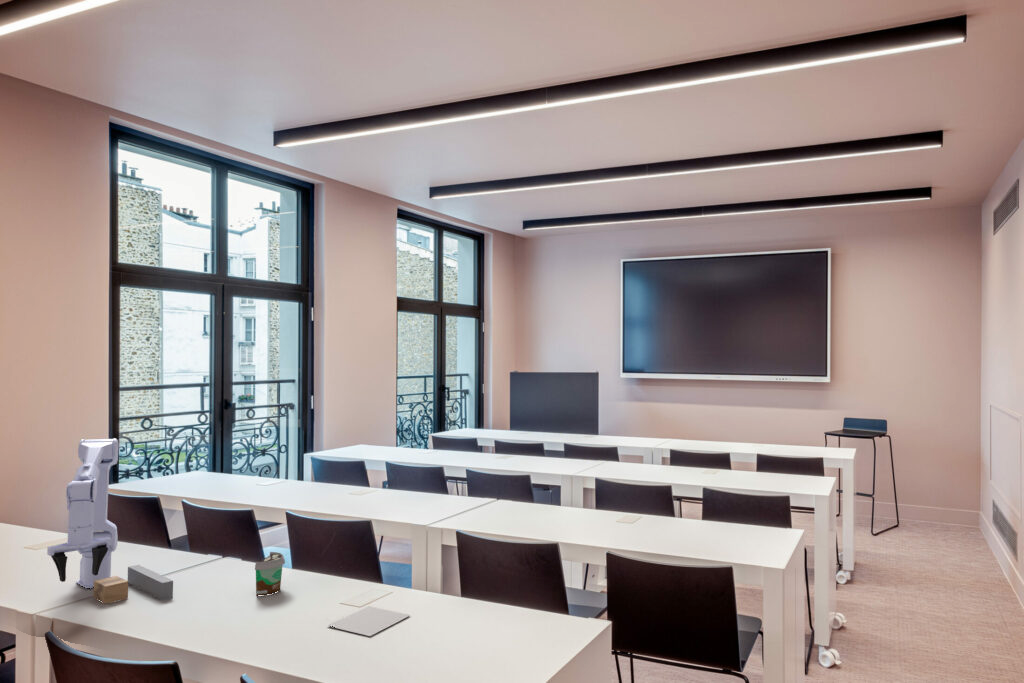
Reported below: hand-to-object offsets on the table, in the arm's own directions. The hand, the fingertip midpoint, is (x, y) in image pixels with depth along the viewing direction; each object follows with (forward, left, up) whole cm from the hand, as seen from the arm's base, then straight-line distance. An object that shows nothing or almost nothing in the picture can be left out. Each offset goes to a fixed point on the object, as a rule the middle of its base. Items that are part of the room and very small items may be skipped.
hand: (79, 577), depth 185 cm
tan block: (-8, +11, -10) cm, 16 cm away
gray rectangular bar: (-8, +21, -10) cm, 24 cm away
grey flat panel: (+55, +52, -10) cm, 76 cm away
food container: (+20, +45, -10) cm, 50 cm away
